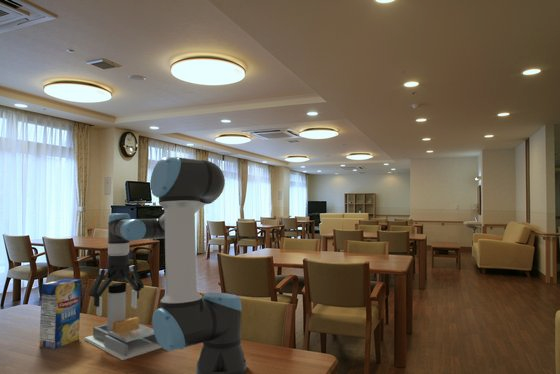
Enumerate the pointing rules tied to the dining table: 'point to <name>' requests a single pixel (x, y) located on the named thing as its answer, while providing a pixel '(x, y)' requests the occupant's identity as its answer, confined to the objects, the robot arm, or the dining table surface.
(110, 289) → the travel mug
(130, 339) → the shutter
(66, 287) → the blue food box
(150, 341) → the dock
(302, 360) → the dining table surface
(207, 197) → the robot arm
